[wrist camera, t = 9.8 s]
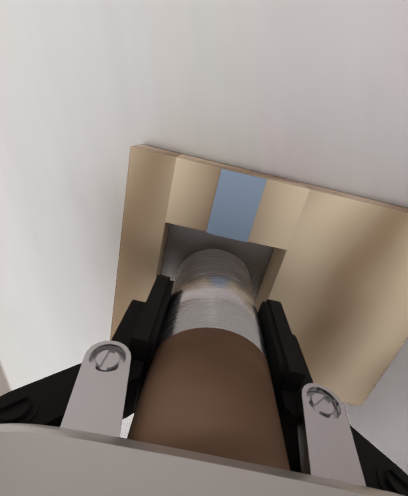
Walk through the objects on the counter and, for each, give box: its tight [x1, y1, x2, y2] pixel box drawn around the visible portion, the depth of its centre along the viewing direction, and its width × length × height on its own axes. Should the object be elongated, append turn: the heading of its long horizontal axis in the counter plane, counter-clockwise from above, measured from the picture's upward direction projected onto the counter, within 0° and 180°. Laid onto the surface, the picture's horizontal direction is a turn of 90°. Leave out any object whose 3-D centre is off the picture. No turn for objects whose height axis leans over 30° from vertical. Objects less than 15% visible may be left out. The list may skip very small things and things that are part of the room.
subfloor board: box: [110, 145, 408, 406], centre depth 15 cm, size 16×12×2 cm
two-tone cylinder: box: [127, 249, 290, 471], centre depth 9 cm, size 4×4×12 cm
